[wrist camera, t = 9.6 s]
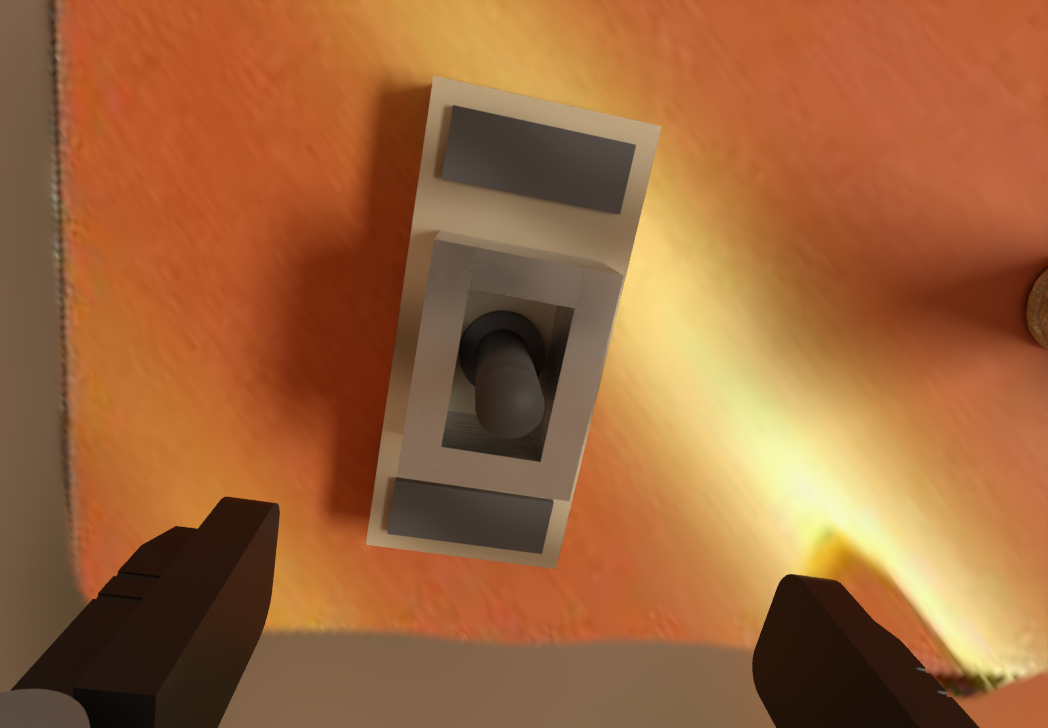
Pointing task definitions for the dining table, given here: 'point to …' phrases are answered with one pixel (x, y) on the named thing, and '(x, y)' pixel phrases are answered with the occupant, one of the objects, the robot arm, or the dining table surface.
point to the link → (567, 381)
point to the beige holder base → (503, 297)
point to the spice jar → (1039, 310)
